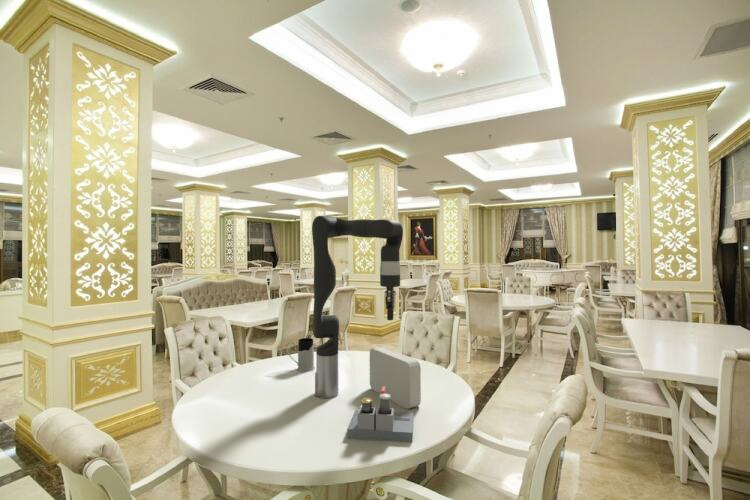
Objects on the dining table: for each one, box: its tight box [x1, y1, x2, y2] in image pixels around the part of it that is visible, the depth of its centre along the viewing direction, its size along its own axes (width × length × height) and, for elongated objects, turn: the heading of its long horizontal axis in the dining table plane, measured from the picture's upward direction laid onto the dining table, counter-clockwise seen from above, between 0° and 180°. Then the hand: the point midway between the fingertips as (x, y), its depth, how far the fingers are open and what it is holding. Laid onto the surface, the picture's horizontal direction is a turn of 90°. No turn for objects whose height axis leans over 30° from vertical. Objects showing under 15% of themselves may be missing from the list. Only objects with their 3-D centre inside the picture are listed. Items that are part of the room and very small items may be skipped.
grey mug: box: [286, 337, 315, 373], centre depth 195 cm, size 9×14×15 cm, turn 89°
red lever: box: [380, 386, 386, 395], centre depth 130 cm, size 3×4×10 cm
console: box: [346, 406, 414, 443], centre depth 129 cm, size 21×15×8 cm
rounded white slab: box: [369, 346, 422, 410], centre depth 158 cm, size 29×8×18 cm, turn 33°
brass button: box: [361, 397, 373, 414], centre depth 125 cm, size 4×4×5 cm
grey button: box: [379, 394, 391, 413], centre depth 124 cm, size 4×4×5 cm
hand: (390, 319), depth 141 cm, fingers closed
